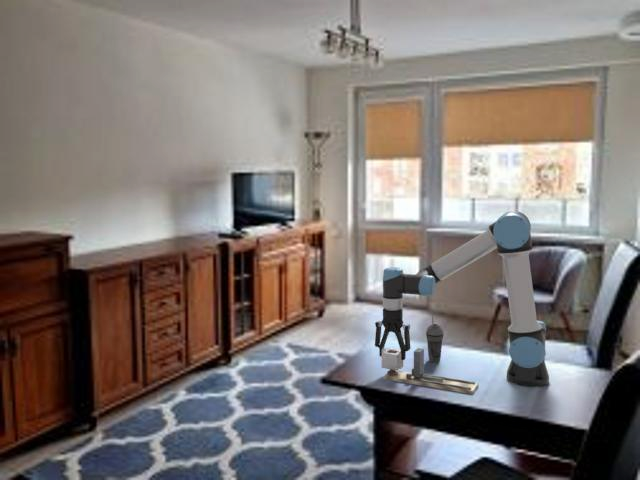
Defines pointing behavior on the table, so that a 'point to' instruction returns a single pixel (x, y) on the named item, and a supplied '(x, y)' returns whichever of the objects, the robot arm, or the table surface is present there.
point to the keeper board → (433, 381)
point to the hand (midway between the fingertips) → (392, 366)
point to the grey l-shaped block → (421, 366)
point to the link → (390, 359)
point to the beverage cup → (434, 341)
